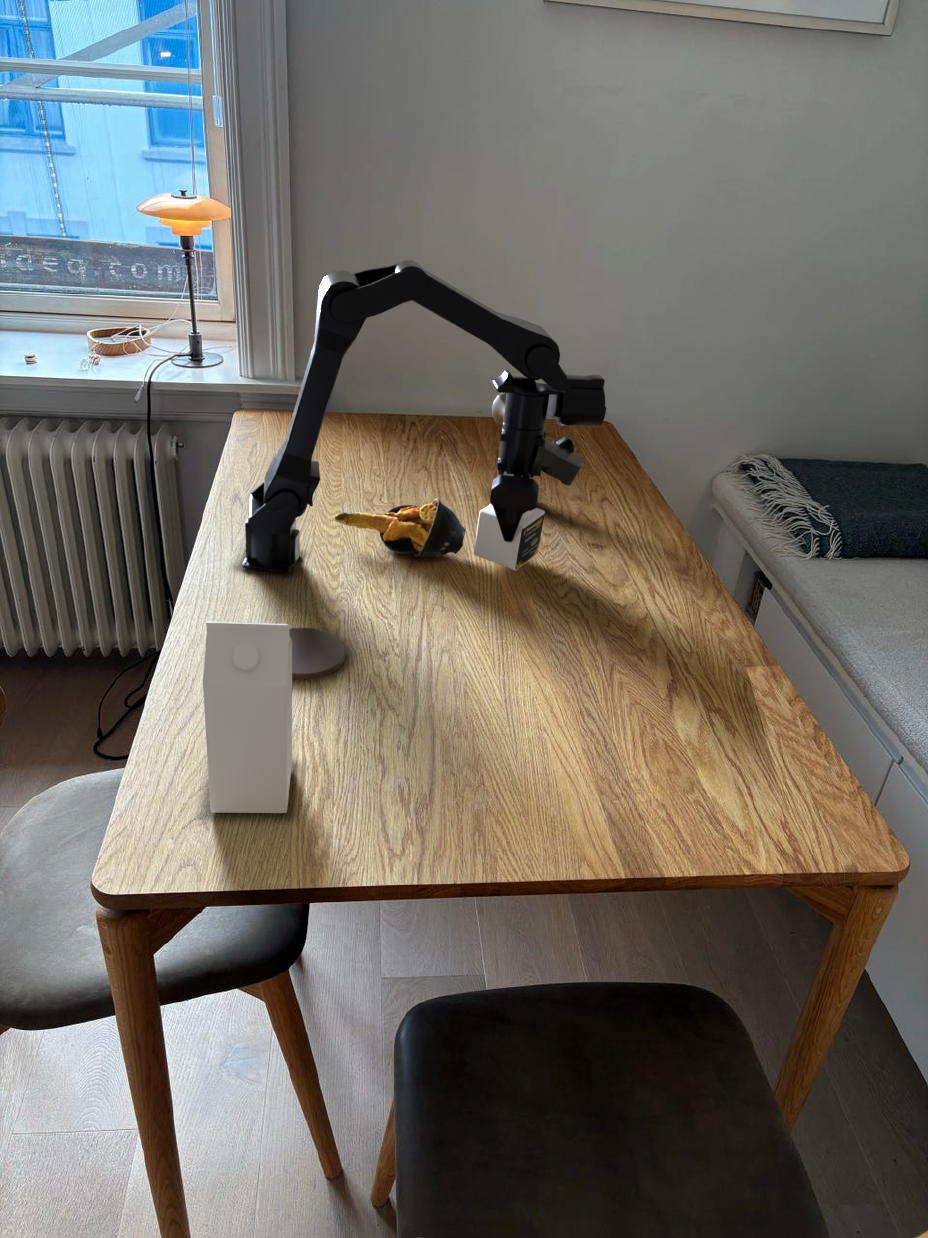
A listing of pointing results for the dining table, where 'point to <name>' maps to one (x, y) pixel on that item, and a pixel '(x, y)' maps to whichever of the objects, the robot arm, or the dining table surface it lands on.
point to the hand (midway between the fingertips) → (509, 527)
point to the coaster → (315, 653)
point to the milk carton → (248, 716)
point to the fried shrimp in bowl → (413, 528)
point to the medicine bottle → (504, 552)
